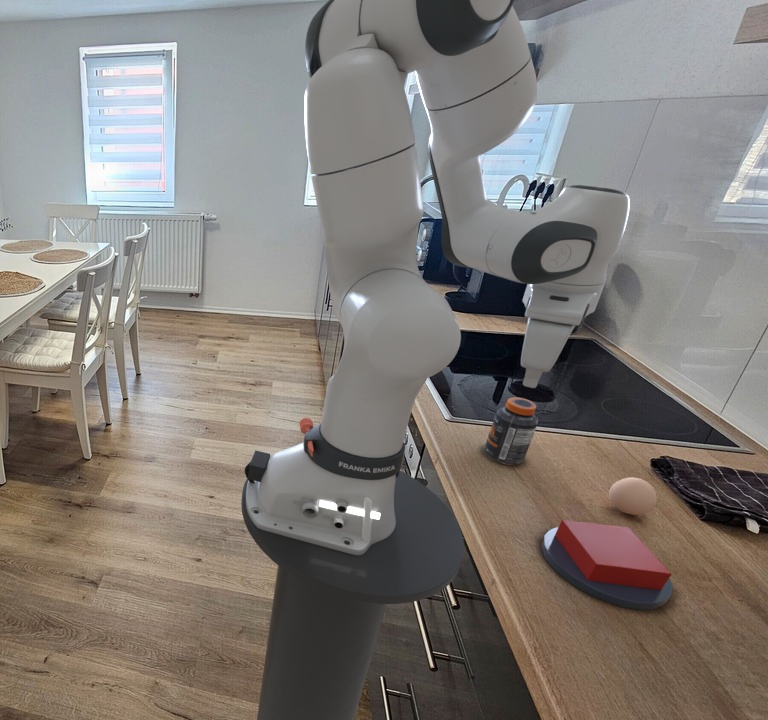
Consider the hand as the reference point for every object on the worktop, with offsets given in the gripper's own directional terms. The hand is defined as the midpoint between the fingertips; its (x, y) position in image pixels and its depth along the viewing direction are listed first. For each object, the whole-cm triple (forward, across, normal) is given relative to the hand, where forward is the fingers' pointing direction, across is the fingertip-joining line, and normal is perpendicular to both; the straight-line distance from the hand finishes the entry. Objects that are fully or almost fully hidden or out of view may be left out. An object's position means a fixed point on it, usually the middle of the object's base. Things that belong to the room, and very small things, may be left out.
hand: (533, 374), depth 83 cm
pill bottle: (+17, 0, 0) cm, 17 cm away
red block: (+15, +21, +14) cm, 29 cm away
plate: (+17, +21, +14) cm, 30 cm away
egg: (+17, +5, +16) cm, 24 cm away
